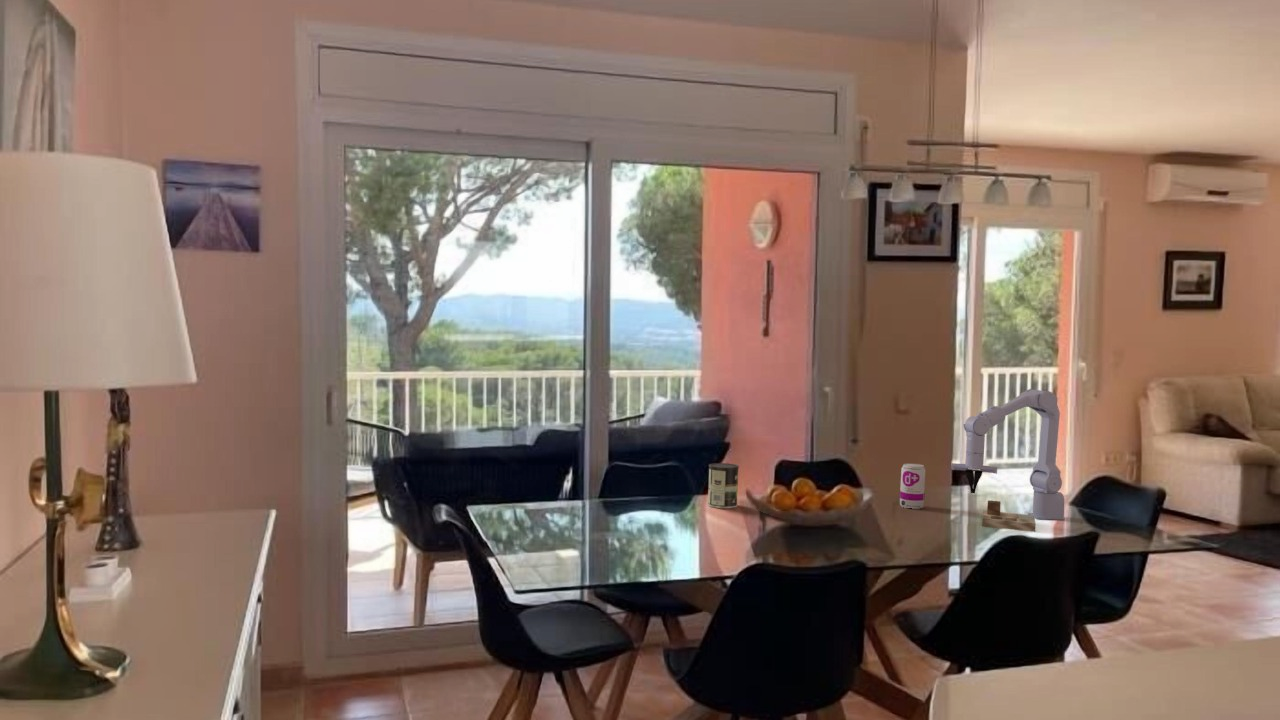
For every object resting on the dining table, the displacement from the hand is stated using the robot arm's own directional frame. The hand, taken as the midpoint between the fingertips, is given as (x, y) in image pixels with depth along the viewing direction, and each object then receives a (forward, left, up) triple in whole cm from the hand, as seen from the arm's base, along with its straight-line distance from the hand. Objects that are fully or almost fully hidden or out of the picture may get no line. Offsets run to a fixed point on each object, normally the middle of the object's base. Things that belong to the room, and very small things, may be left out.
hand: (972, 492), depth 320 cm
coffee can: (+83, -13, -9) cm, 84 cm away
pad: (-16, +7, -9) cm, 19 cm away
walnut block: (-6, +3, -6) cm, 9 cm away
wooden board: (-10, +7, -9) cm, 15 cm away
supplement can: (+15, -18, -9) cm, 25 cm away
